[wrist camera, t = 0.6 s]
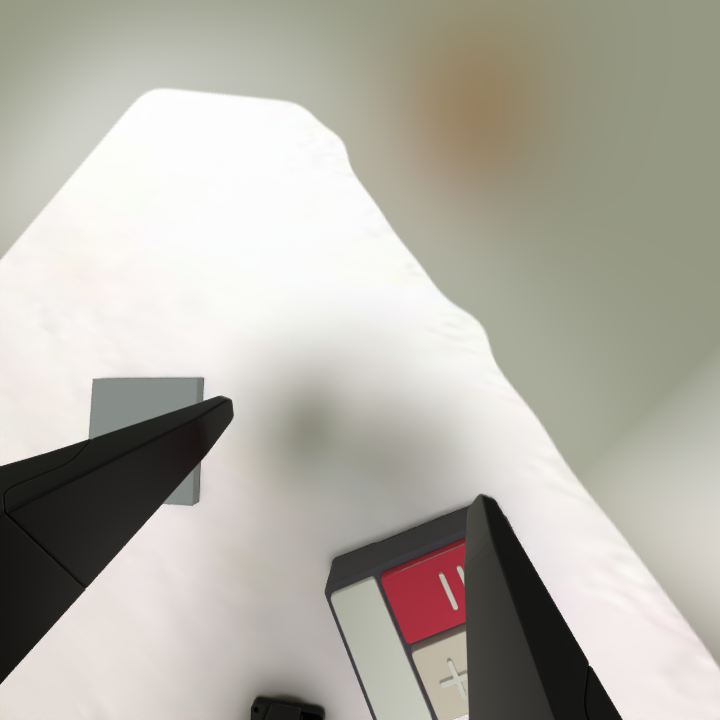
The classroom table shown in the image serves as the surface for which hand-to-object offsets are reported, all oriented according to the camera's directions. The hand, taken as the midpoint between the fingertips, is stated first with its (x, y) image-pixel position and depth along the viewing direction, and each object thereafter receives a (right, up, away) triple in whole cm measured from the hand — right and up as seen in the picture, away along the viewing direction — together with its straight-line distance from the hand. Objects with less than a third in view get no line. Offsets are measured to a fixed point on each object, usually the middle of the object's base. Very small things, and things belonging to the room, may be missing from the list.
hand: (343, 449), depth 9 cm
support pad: (-21, -5, +17) cm, 28 cm away
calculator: (+7, -17, +13) cm, 22 cm away
